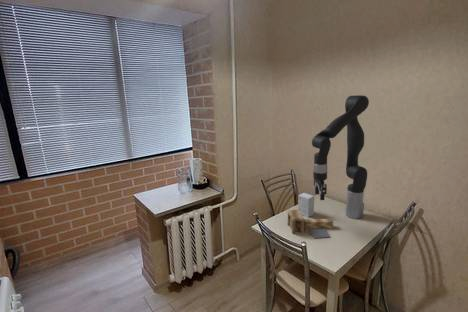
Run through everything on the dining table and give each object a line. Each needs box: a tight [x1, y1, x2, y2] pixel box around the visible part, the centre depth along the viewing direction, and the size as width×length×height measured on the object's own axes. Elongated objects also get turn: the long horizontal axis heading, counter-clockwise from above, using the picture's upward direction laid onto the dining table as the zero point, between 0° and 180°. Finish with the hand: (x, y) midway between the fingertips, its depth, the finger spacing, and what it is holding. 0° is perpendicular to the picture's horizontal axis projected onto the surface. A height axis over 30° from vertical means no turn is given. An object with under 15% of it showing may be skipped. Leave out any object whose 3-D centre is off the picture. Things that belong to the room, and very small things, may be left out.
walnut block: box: [289, 218, 301, 232], centre depth 147 cm, size 6×6×6 cm
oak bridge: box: [287, 209, 305, 235], centre depth 147 cm, size 6×11×9 cm, turn 2°
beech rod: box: [304, 218, 334, 230], centre depth 148 cm, size 16×4×4 cm, turn 88°
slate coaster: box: [308, 228, 331, 239], centre depth 141 cm, size 9×9×1 cm
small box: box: [297, 192, 315, 218], centre depth 163 cm, size 8×6×13 cm
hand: (319, 196), depth 146 cm, fingers open, 8 cm apart
